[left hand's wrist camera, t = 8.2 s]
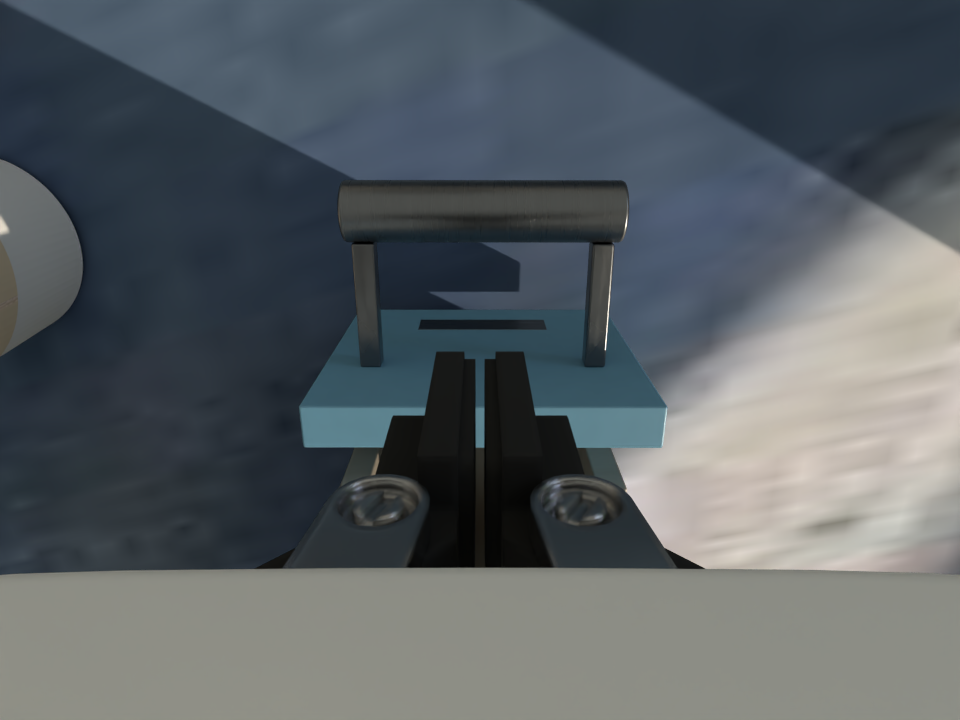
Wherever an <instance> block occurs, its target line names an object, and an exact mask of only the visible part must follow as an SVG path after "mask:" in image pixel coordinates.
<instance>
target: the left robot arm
mask: <svg viewBox="0 0 960 720" xmlns="http://www.w3.org/2000/svg"><path fill="white" fill-rule="evenodd" d="M475 528H476V361H475V359H465V353H464V351H436V356H435V361H434V366H433V372H432V377H431V383H430V388H429V393H428V399H427V404H426V410H425V415H393V417H392V419H391V422H390V426H389V429H388V433H387V436H386V439H385V443H384V446H383V450H382V453H381V457H380V460H379V463H378V467H377V470H376V474H375V475H371V476H365V477H361V478H358V479H355V480H352V481H350V482H348V483H346V484H344V485H343V486H341V487H339V488H338V489H336V491H335V492H334V493H333V494H332V495H331V496H330V497H329V498H328V500H327V501H326V503H325V504H324V506H323V507H322V509H321V510H320V512H319V513H318V515H317V516H316V518H315V520H314V521H313V523H312V524H311V526H310V527H309V529H308V530H307V532H306V533H305V535H304V536H303V538H302V539H301V541H300V542H299V544H298V545H297V547H296V548H295V549H293V550H291V551H289V552H287V553H285V554H283V555H281V556H279V557H277V558H275V559H273V560H271V561H269V562H267V563H265V564H263V565H261V566H259V567H257V568H255V569H219V570H127V571H93V572H61V573H29V574H8V575H0V720H960V575H950V574H934V573H901V572H864V571H827V570H746V569H705V568H703V567H701V566H699V565H697V564H695V563H693V562H691V561H689V560H687V559H685V558H683V557H681V556H679V555H677V554H675V553H673V552H671V551H669V550H667V549H665V548H664V547H663V545H662V544H661V542H660V541H659V539H658V538H657V536H656V535H655V533H654V532H653V530H652V529H651V527H650V526H649V524H648V523H647V521H646V520H645V518H644V516H643V515H642V513H641V512H640V510H639V509H638V507H637V506H636V504H635V503H634V501H633V500H632V498H631V497H630V496H629V495H628V494H627V493H626V492H625V491H624V489H622V488H621V487H619V486H617V485H616V484H614V483H612V482H610V481H608V480H605V479H602V478H599V477H595V476H589V475H585V474H584V470H583V467H582V463H581V460H580V457H579V453H578V450H577V446H576V443H575V439H574V436H573V433H572V429H571V426H570V422H569V419H568V417H567V415H535V410H534V404H533V399H532V393H531V388H530V383H529V377H528V372H527V366H526V361H525V356H524V351H496V353H495V359H485V361H484V528H485V568H475Z"/></svg>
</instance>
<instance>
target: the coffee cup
mask: <svg viewBox="0 0 960 720" xmlns="http://www.w3.org/2000/svg"><path fill="white" fill-rule="evenodd" d="M82 274H83V259H82V251H81V246H80V242H79V239H78V236H77V233H76V231H75V228H74V226H73V224H72V222H71V220H70V218H69V216H68V214H67V213H66V211H65V210H64V208H63V207H62V205H61V204H60V203H59V201H58V200H57V199H56V198H55V197H54V195H53V194H52V193H51V192H50V191H49V190H48V189H47V188H46V187H45V186H44V185H42V184H41V183H40V182H39V181H38V180H37V179H35V178H34V177H33V176H31V175H30V174H28V173H27V172H25V171H24V170H22V169H20V168H19V167H17V166H15V165H13V164H11V163H8V162H6V161H4V160H1V159H0V357H1V356H2V355H4V354H5V353H7V352H8V351H10V350H12V349H13V348H15V347H16V346H18V345H19V344H21V343H22V342H24V341H26V340H27V339H29V338H30V337H32V336H33V335H35V334H36V333H38V332H40V331H41V330H43V329H44V328H46V327H47V326H49V325H50V324H52V323H54V322H55V321H56V320H58V319H59V318H60V317H61V316H63V315H64V314H65V313H66V311H67V310H68V309H69V308H70V306H71V305H72V303H73V302H74V300H75V298H76V296H77V294H78V291H79V289H80V285H81V281H82Z"/></svg>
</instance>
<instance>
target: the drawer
mask: <svg viewBox="0 0 960 720" xmlns="http://www.w3.org/2000/svg"><path fill="white" fill-rule="evenodd" d="M337 208H338V221H339V227H340V232H341V235H342V237H343V239H344V241H346V242H354V243H353V244H352V258H353V271H354V284H355V298H356V311H357V315H356V316H355V318H354V320H353V321H352V323H351V324H350V326H349V328H348V329H347V331H346V332H345V334H344V336H343V337H342V339H341V340H340V342H339V343H338V345H337V347H336V348H335V350H334V351H333V353H332V355H331V356H330V358H329V359H328V361H327V363H326V364H325V366H324V367H323V369H322V371H321V372H320V374H319V375H318V377H317V379H316V380H315V382H314V383H313V385H312V387H311V388H310V390H309V391H308V393H307V395H306V396H305V398H304V399H303V401H302V402H301V404H300V406H299V413H300V421H301V430H302V438H303V446H304V447H355V448H354V451H353V453H352V456H351V459H350V461H349V464H348V467H347V469H346V472H345V474H344V477H343V480H342V482H341V485H340V487H341V486H343V485H344V484H346V483H348V482H350V481H352V480H355V479H358V478H361V477H365V476H371V475H375V474H376V470H377V467H378V463H379V460H380V457H381V453H382V450H383V446H384V443H385V439H386V436H387V433H388V429H389V426H390V422H391V419H392V417H393V415H425V410H426V404H427V399H428V393H429V388H430V383H431V377H432V372H433V366H434V361H435V356H436V351H464V353H465V359H475V361H476V528H475V568H485V528H484V361H485V359H495V353H496V351H524V356H525V361H526V366H527V372H528V377H529V383H530V388H531V393H532V399H533V404H534V410H535V415H567V417H568V419H569V422H570V426H571V429H572V433H573V436H574V439H575V443H576V446H577V450H578V453H579V457H580V460H581V463H582V467H583V470H584V474H585V475H589V476H595V477H599V478H602V479H605V480H608V481H610V482H612V483H614V484H616V485H617V486H619V487H621V488H622V489H624V491H625V492H626V493H627V488H626V486H625V483H624V481H623V478H622V475H621V473H620V470H619V468H618V465H617V463H616V460H615V458H614V455H613V452H612V450H611V448H661V447H662V446H663V440H664V431H665V423H666V415H667V406H666V404H665V403H664V401H663V399H662V398H661V396H660V395H659V393H658V392H657V390H656V389H655V387H654V385H653V384H652V382H651V381H650V379H649V378H648V376H647V375H646V373H645V371H644V370H643V368H642V367H641V365H640V364H639V362H638V361H637V359H636V357H635V356H634V354H633V353H632V351H631V350H630V348H629V347H628V345H627V343H626V342H625V340H624V339H623V337H622V336H621V334H620V333H619V331H618V329H617V328H616V326H615V325H614V323H613V322H612V320H611V319H610V317H609V309H610V296H611V283H612V271H613V258H614V244H613V243H612V242H621V241H622V240H623V238H624V236H625V233H626V230H627V225H628V218H629V194H628V189H627V185H626V183H625V182H624V181H621V180H344V181H342V182H341V184H340V187H339V191H338V203H337ZM377 242H590V244H589V259H588V275H587V290H586V305H585V310H381V306H380V289H379V273H378V256H377Z"/></svg>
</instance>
